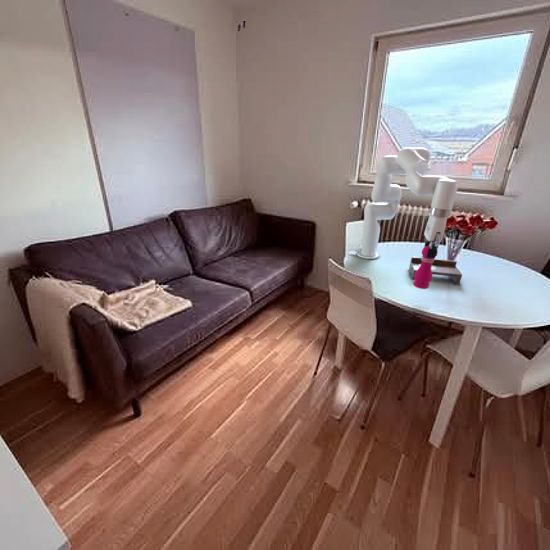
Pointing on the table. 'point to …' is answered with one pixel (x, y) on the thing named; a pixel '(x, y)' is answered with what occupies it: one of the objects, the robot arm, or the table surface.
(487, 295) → the table surface
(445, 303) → the table surface
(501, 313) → the table surface
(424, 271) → the pepper mill
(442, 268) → the shelf
